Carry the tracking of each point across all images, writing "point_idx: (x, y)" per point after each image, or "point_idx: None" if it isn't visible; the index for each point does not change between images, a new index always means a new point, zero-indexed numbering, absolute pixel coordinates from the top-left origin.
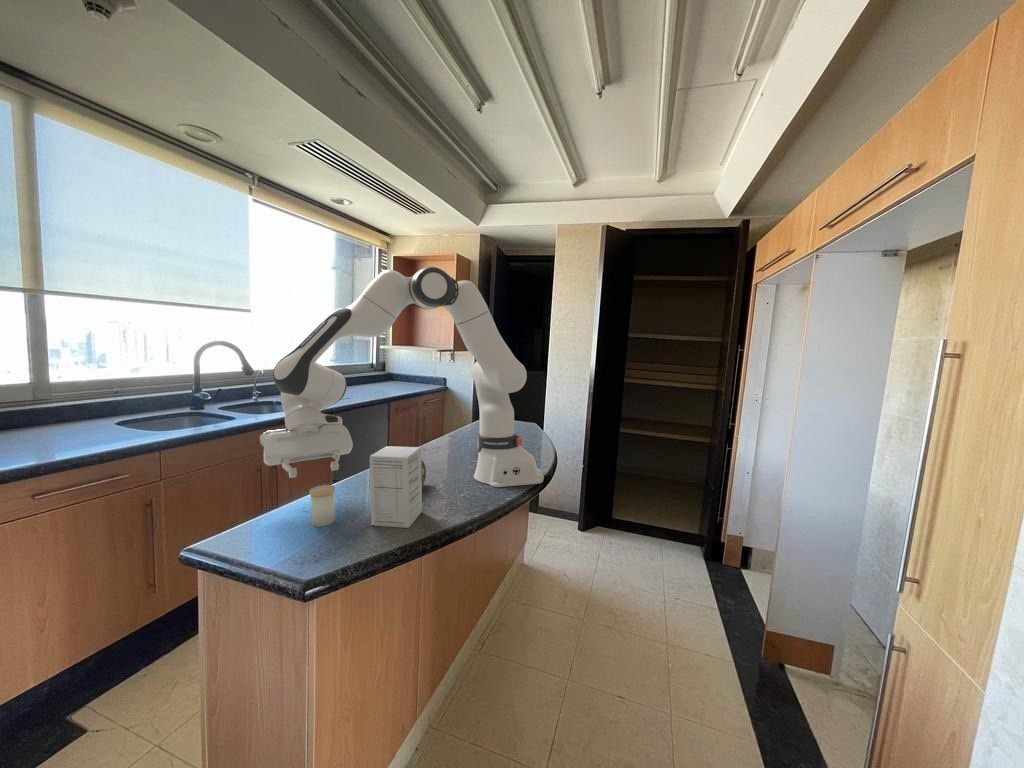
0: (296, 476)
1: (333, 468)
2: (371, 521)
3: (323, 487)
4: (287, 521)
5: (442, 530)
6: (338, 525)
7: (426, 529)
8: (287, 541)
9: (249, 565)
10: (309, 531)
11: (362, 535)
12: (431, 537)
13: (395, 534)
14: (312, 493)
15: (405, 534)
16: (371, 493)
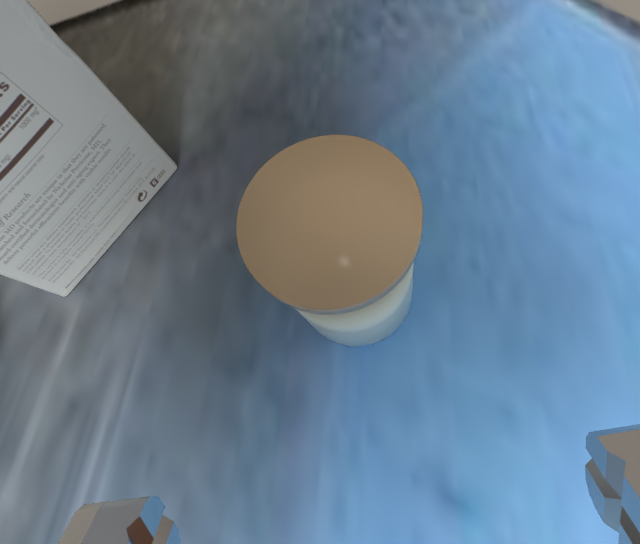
0: (587, 472)
1: (151, 502)
2: (168, 156)
3: (316, 245)
4: (544, 383)
5: None
6: None
7: None
8: (509, 151)
9: (624, 19)
10: None
11: (228, 102)
12: (51, 24)
13: (130, 73)
14: (400, 161)
15: (104, 63)
16: (78, 56)
